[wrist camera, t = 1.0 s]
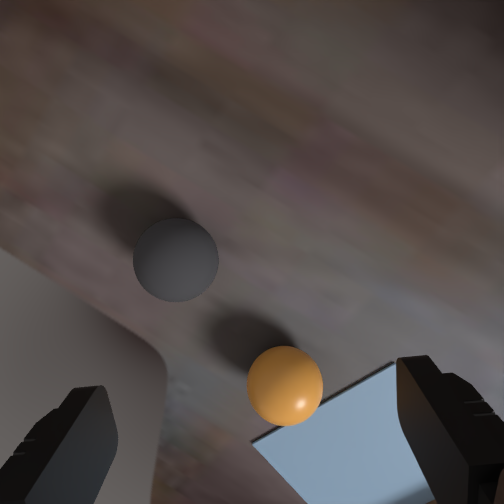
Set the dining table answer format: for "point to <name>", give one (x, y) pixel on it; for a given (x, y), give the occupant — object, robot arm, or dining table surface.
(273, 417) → the orange ball
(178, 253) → the dark gray ball
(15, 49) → the dining table surface
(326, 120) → the dining table surface
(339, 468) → the light blue square plate
